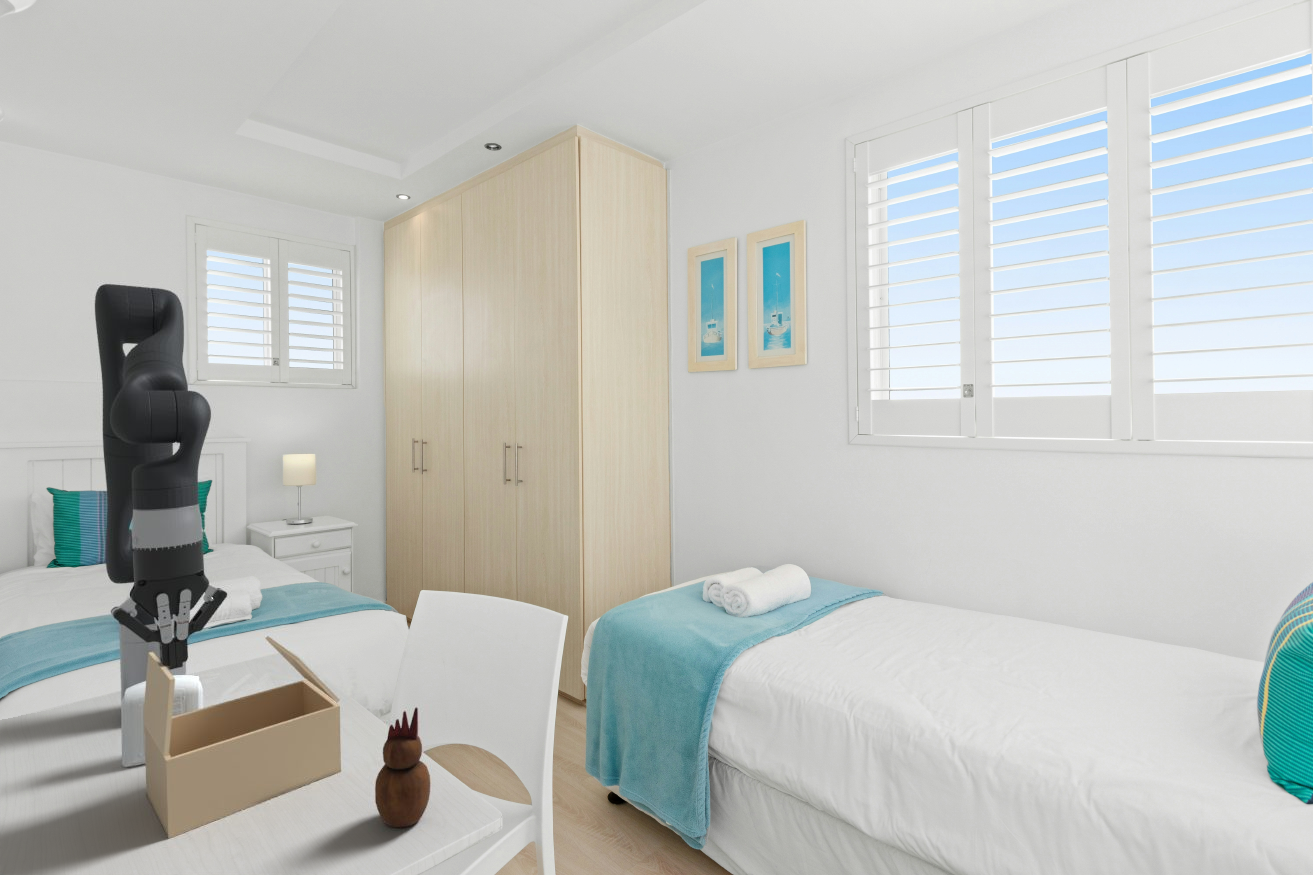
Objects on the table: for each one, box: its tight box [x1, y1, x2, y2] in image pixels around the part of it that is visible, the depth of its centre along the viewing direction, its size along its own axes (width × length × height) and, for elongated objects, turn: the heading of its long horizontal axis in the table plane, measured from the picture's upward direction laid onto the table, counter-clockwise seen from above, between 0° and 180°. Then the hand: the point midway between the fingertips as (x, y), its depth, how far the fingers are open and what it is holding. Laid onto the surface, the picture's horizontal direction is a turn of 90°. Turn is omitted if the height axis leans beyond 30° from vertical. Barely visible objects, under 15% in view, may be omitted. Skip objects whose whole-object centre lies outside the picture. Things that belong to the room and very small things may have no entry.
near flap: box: [143, 652, 175, 757], centre depth 86 cm, size 14×10×1 cm
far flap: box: [264, 636, 341, 703], centre depth 99 cm, size 14×10×1 cm
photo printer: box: [120, 674, 204, 768], centre depth 101 cm, size 10×4×12 cm, turn 123°
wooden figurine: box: [374, 707, 431, 828], centre depth 85 cm, size 7×6×15 cm
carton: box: [144, 679, 342, 839], centre depth 94 cm, size 14×21×10 cm, turn 137°
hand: (174, 666), depth 88 cm, fingers closed
